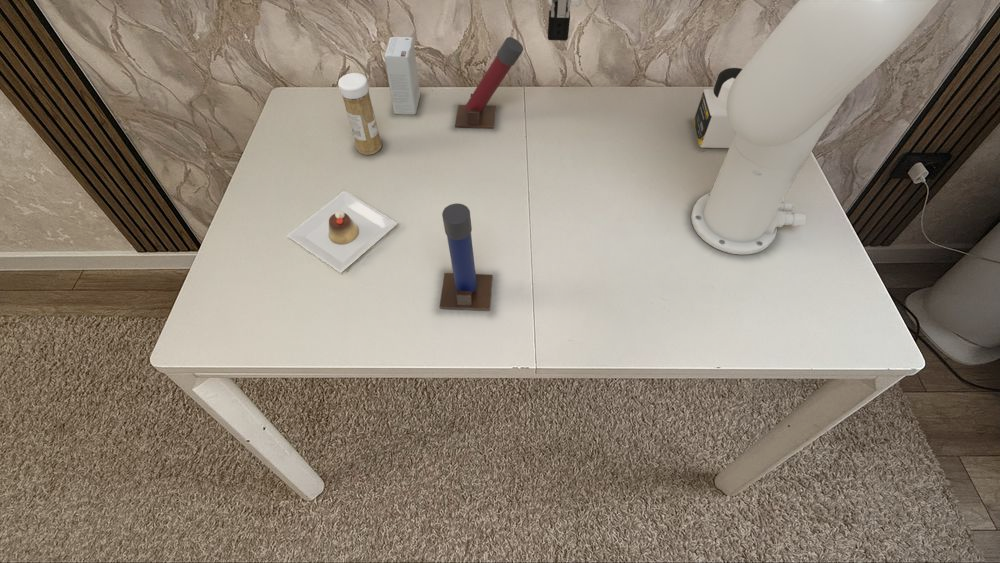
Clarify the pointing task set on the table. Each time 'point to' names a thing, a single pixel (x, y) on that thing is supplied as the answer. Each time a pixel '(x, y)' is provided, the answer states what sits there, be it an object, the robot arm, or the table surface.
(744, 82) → the robot arm
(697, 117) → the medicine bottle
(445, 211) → the marker
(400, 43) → the cosmetic box
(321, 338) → the table surface
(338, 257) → the dessert
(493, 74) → the marker far
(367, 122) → the sprinkles bottle
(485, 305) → the stand near
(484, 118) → the stand far
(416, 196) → the table surface
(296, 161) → the table surface
